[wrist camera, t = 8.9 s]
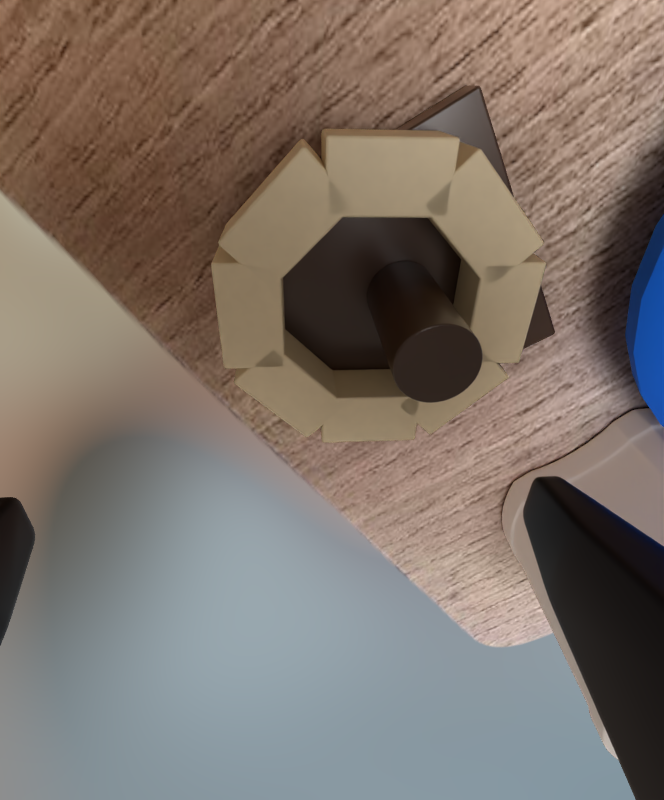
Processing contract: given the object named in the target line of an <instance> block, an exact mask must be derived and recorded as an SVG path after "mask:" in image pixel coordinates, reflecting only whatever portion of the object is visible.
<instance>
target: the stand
mask: <svg viewBox="0 0 664 800" xmlns="http://www.w3.org/2000/svg"><path fill="white" fill-rule="evenodd" d="M396 130H430V131H441V132H444V133H447V134H450V135H453V136H456V137H458V138H459V139H460V142H462V143H465V144H468V145H471V146H473V147H476V148H479V149H481V150H482V151H483V153H484V154H485V156H486V157H487V159H488V160H489V162H490V163H491V165H492V166H493V168H494V169H495V170H496V172H497V173H498V175H499V176H500V178H501V179H502V181H503V182H504V184H505V185H506V187H507V188H508V190H509V191H510V193H511V194H512V195H513V192H512V189H511V186H510V182H509V179H508V176H507V173H506V169H505V166H504V163H503V159H502V156H501V153H500V150H499V146H498V143H497V140H496V136H495V133H494V130H493V127H492V123H491V120H490V117H489V113H488V110H487V107H486V104H485V100H484V97H483V94H482V90H481V87H480V86H464V87H463V88H461V89H460V90H458V91H456V92H455V93H453V94H452V95H450V96H448V97H447V98H445V99H444V100H442V101H440V102H439V103H437V104H436V105H434V106H432V107H431V108H429V109H428V110H426V111H424V112H423V113H421V114H420V115H418V116H416V117H415V118H413V119H412V120H410V121H408V122H407V123H405V124H404V125H402V126H400V127H399V128H397V129H396ZM513 197H514V195H513ZM460 264H461V258H460V257H459V256H458V255H457V254H456V252H455V251H454V250H453V249H452V247H451V246H450V245H449V244H448V242H447V241H446V240H445V239H444V237H443V236H442V235H441V234H440V232H439V231H438V230H437V229H436V228H435V226H434V225H433V224H432V223H431V221H430V220H429V219H428V218H383V217H343V218H342V219H341V220H340V221H339V222H338V223H337V224H336V225H335V226H334V227H333V228H332V229H331V230H330V231H329V232H328V233H327V234H326V235H325V236H324V237H323V238H322V239H321V240H320V241H319V242H318V243H317V244H316V245H315V246H314V247H313V248H312V249H311V250H310V251H309V252H308V253H307V254H306V255H305V256H304V257H303V258H302V259H301V260H300V261H299V262H298V263H297V264H296V265H295V266H294V267H293V268H292V269H291V270H290V271H289V272H288V273H287V274H286V275H285V276H284V277H283V290H284V317H285V330H286V331H288V332H289V333H290V334H291V335H292V336H293V337H295V338H296V339H297V340H298V341H299V342H300V343H302V344H303V345H304V346H305V347H306V348H307V349H308V350H310V351H311V352H312V353H313V354H314V355H315V356H317V357H318V358H319V359H320V360H321V361H322V362H323V363H325V364H326V365H327V366H328V367H329V368H330V369H332V370H368V369H390V370H391V372H392V375H393V378H394V381H395V383H396V385H397V387H398V388H399V389H400V390H401V392H402V393H404V394H405V395H406V396H408V397H410V398H411V399H414V400H416V401H420V402H426V403H435V402H441V401H445V400H449V399H451V398H453V397H455V396H457V395H459V394H460V393H462V392H463V391H465V390H466V389H467V388H468V387H469V386H470V385H471V384H472V383H473V381H474V380H475V379H476V377H477V375H478V373H479V371H480V369H481V365H482V359H483V353H482V348H481V345H480V342H479V340H478V339H477V337H476V336H475V335H474V333H473V332H472V330H471V329H470V328H469V326H468V325H467V324H466V322H465V321H464V319H463V318H462V317H461V315H460V314H459V313H458V311H457V310H456V308H455V307H454V306H453V304H454V298H455V292H456V287H457V281H458V275H459V270H460ZM554 333H555V330H554V327H553V324H552V320H551V317H550V314H549V310H548V307H547V304H546V301H545V297H544V294H543V291H542V287H541V286H540V289H539V293H538V296H537V300H536V303H535V307H534V311H533V314H532V318H531V321H530V325H529V328H528V332H527V336H526V339H525V343H524V346H523V349H524V348H526V347H528V346H530V345H532V344H534V343H536V342H539V341H541V340H543V339H545V338H547V337H549V336H551V335H553V334H554Z"/></svg>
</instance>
